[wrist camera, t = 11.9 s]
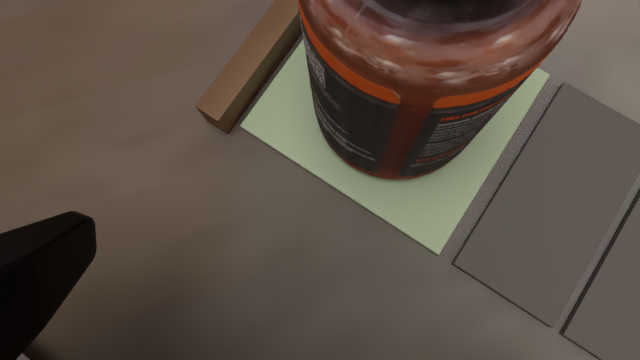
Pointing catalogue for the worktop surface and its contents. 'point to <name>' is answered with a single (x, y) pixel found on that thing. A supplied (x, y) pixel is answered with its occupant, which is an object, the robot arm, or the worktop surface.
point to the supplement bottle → (420, 73)
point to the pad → (377, 193)
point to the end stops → (251, 65)
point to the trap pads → (567, 226)
